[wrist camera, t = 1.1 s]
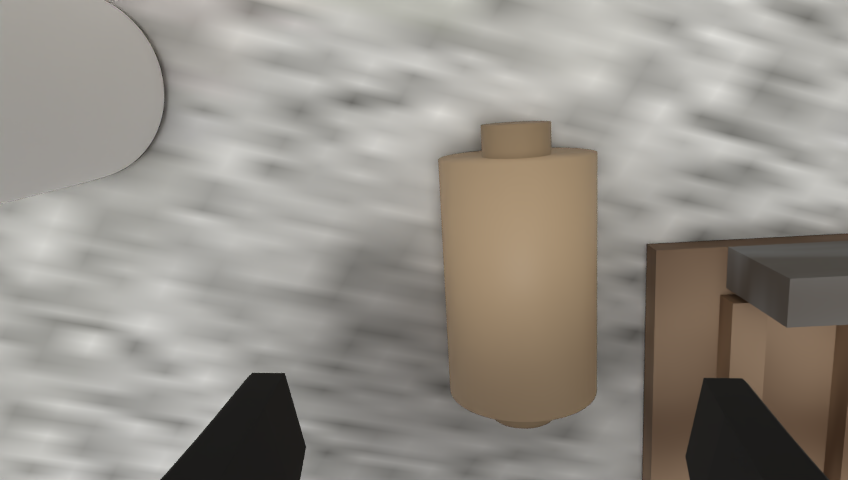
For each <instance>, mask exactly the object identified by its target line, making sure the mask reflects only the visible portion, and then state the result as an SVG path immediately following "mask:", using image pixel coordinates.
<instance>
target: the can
mask: <svg viewBox="0 0 848 480" xmlns="http://www.w3.org/2000/svg"><path fill="white" fill-rule="evenodd" d="M163 108H164V84H163V77H162V73H161V69H160V65H159V62H158V60H157V57H156V55H155V52H154V50H153V48H152V46H151V45H150V43H149V41H148V40H147V38H146V37H145V35H144V34H143V32H142V31H141V30H140V29H139V27H138V26H137V25H136V24H135V23H134V22H133V21H132V20H131V19H130V18H129V17H128V16H127V15H126V14H125V13H123V12H122V11H121V10H120V9H118V8H117V7H115V6H114V5H112V4H111V3H109V2H107V1H105V0H0V204H3V203H7V202H11V201H15V200H19V199H23V198H27V197H30V196H34V195H38V194H42V193H46V192H50V191H54V190H58V189H62V188H66V187H70V186H74V185H77V184H81V183H85V182H89V181H92V180H96V179H99V178H103V177H106V176H109V175H112V174H114V173H116V172H119V171H121V170H123V169H124V168H126V167H128V166H129V165H131V164H132V163H133V162H134V161H136V160H137V159H138V158H139V157H140V156H141V155H142V154H143V153H144V152H145V150H146V149H147V148H148V147H149V145H150V144H151V142H152V140H153V139H154V137H155V135H156V133H157V130H158V128H159V125H160V122H161V118H162V114H163Z"/></svg>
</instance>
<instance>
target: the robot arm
mask: <svg viewBox="0 0 848 480" xmlns="http://www.w3.org/2000/svg"><path fill="white" fill-rule="evenodd" d="M305 449H306V445H305V442H304V439H303V435H302V432H301V428H300V425H299V421H298V418H297V414H296V411H295V407H294V404H293V400H292V397H291V393H290V390H289V386H288V383H287V379H286V376H285V373H252V374H251V375H250V376H249V377H248V378H247V379H246V380H245V381H244V383H243V384H242V385H241V386H240V387H239V389H238V390H237V391H236V392H235V393H234V395H233V396H232V397H231V398H230V399H229V401H228V402H227V403H226V404H225V406H224V407H223V408H222V409H221V410H220V412H219V413H218V414H217V415H216V416H215V418H214V419H213V420H212V421H211V422H210V424H209V425H208V426H207V427H206V428H205V429H204V431H203V432H202V433H201V434H200V435H199V437H198V438H197V439H196V440H195V441H194V442H193V443H192V445H191V446H190V447H189V448H188V449H187V450H186V451H185V453H184V454H183V455H182V456H181V457H180V458H179V459H178V461H177V462H176V463H175V464H174V465H173V466H172V467H171V469H170V470H169V471H168V472H167V473H166V474H165V475H164V476H163V477H162V479H161V480H300V477H301V471H302V466H303V460H304V455H305ZM685 457H686V462H687V468H688V473H689V478H690V480H829V479H828V478H827V477H826V475H825V474H824V473H823V472H822V471H821V470H820V469H819V468H818V467H817V465H816V464H815V463H814V462H813V461H812V460H811V459H810V457H809V456H808V455H807V454H806V453H805V452H804V450H803V449H802V448H801V447H800V446H799V445H798V443H797V442H796V441H795V440H794V439H793V438H792V436H791V435H790V434H789V433H788V432H787V430H786V429H785V428H784V427H783V426H782V424H781V423H780V422H779V421H778V420H777V418H776V417H775V416H774V415H773V414H772V412H771V411H770V410H769V409H768V407H767V406H766V405H765V404H764V403H763V401H762V400H761V399H760V398H759V396H758V395H757V394H756V393H755V392H754V390H753V389H752V388H751V387H750V385H749V384H748V383H747V382H746V381H745V380H744V379H743V378H704V379H703V383H702V387H701V392H700V396H699V400H698V404H697V409H696V413H695V417H694V422H693V426H692V430H691V434H690V439H689V443H688V447H687V452H686V456H685Z"/></svg>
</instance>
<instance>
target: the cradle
mask: <svg viewBox="0 0 848 480" xmlns="http://www.w3.org/2000/svg"><path fill="white" fill-rule="evenodd" d="M704 378H743V379H744V380H745V381H746V382H747V383H748V384H749V385H750V387H751V388H752V389H753V390H754V392H755V393H756V394H757V395H758V396H759V398H760V399H761V400H762V401H763V403H764V404H765V405H766V406H767V407H768V409H769V410H770V411H771V412H772V414H773V415H774V416H775V417H776V418H777V420H778V421H779V422H780V423H781V424H782V426H783V427H784V428H785V429H786V430H787V432H788V433H789V434H790V435H791V436H792V438H793V439H794V440H795V441H796V442H797V443H798V445H799V446H800V447H801V448H802V449H803V450H804V452H805V453H806V454H807V455H808V456H809V457H810V459H811V460H812V461H813V462H814V463H815V464H816V465H817V467H818V468H819V469H820V470H821V471H822V472H823V473H824V474H825V475H826V477H827V478H828V479H829V480H848V234H832V235H813V236H794V237H774V238H755V239H736V240H717V241H698V242H679V243H659V244H647V273H646V324H645V374H644V424H643V474H642V480H690V478H689V473H688V468H687V462H686V457H685V456H686V452H687V447H688V443H689V439H690V434H691V430H692V426H693V422H694V417H695V413H696V409H697V404H698V400H699V396H700V392H701V387H702V383H703V379H704Z"/></svg>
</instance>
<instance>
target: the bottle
mask: <svg viewBox="0 0 848 480" xmlns="http://www.w3.org/2000/svg"><path fill="white" fill-rule="evenodd" d="M481 146H482V151H474V152H465V153H458V154H452V155H447V156H443V157H441V158H439V159H438V163H439V182H440V201H441V220H442V240H443V259H444V278H445V297H446V316H447V335H448V354H449V374H450V390H451V394H452V396H453V398H454V399H455V401H456V402H457V403H458V404H460V405H461V406H462V407H464V408H465V409H467V410H469V411H471V412H473V413H476V414H478V415H481V416H484V417H488V418H492V419H495V420H496V421H497V422H499V423H501V424H503V425H506V426H509V427H514V428H535V427H540V426H543V425H545V424H547V423H549V422H550V421H552V420H554V419H559V418H563V417H566V416H569V415H572V414H575V413H577V412H579V411H581V410H583V409H584V408H586V407H587V406H588V405H590V404H591V403H592V401H593V400H594V398H595V396H596V393H597V152H596V151H594V150H589V149H580V148H551V121H522V122H504V123H492V124H484V125H481Z"/></svg>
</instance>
